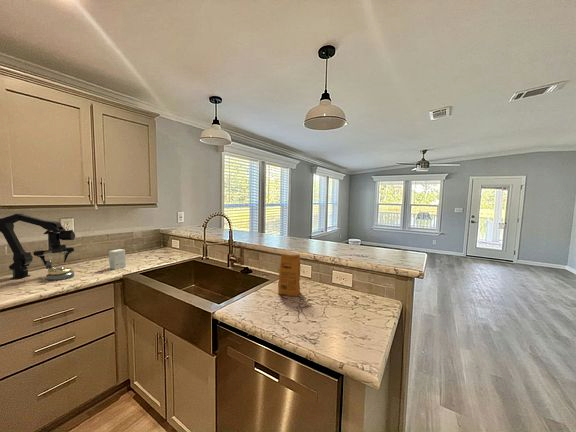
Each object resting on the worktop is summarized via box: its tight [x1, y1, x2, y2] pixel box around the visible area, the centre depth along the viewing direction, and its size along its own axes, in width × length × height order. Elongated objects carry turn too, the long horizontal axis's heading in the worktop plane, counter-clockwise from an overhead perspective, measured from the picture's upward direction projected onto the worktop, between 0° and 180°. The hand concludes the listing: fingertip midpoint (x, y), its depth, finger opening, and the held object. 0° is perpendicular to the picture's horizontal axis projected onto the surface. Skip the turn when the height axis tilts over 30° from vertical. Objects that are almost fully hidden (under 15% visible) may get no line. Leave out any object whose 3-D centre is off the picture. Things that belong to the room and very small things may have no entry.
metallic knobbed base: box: [44, 259, 73, 276], centre depth 155 cm, size 18×11×7 cm, turn 73°
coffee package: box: [277, 253, 301, 297], centre depth 134 cm, size 10×12×22 cm
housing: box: [45, 270, 75, 282], centre depth 157 cm, size 15×18×3 cm
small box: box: [108, 248, 127, 270], centre depth 179 cm, size 8×6×13 cm
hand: (54, 263), depth 160 cm, fingers open, 9 cm apart
